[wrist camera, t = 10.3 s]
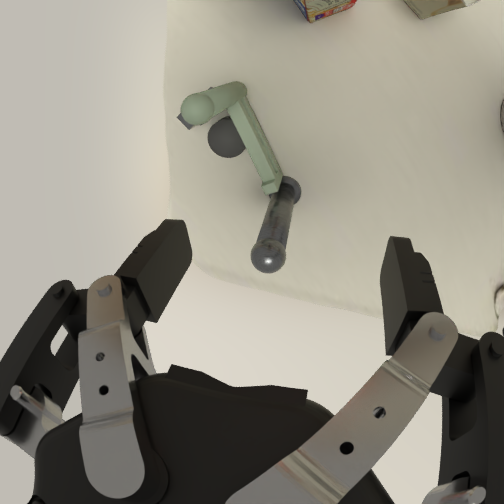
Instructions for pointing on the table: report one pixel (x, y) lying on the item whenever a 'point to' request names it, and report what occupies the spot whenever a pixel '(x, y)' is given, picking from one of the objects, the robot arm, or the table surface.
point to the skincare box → (436, 6)
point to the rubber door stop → (225, 138)
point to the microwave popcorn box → (322, 8)
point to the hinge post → (276, 227)
